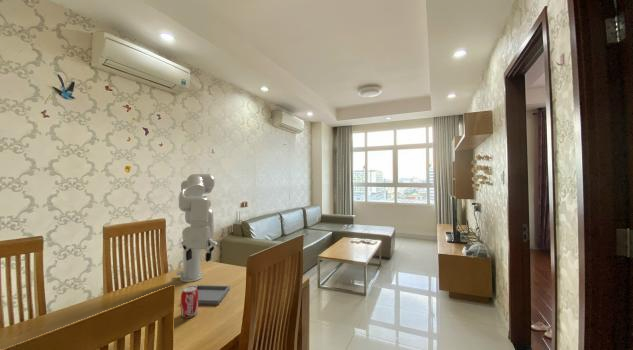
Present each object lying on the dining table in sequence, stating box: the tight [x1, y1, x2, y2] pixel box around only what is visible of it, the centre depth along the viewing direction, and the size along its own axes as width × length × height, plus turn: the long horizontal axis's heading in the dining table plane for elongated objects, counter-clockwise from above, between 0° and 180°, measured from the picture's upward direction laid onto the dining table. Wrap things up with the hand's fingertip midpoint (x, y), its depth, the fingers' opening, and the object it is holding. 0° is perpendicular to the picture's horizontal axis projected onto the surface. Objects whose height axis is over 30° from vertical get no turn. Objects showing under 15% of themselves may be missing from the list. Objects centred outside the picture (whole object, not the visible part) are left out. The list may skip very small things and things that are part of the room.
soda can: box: [180, 285, 199, 319], centre depth 115 cm, size 7×7×12 cm
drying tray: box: [196, 284, 231, 306], centre depth 132 cm, size 18×16×2 cm
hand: (198, 260), depth 118 cm, fingers open, 9 cm apart
